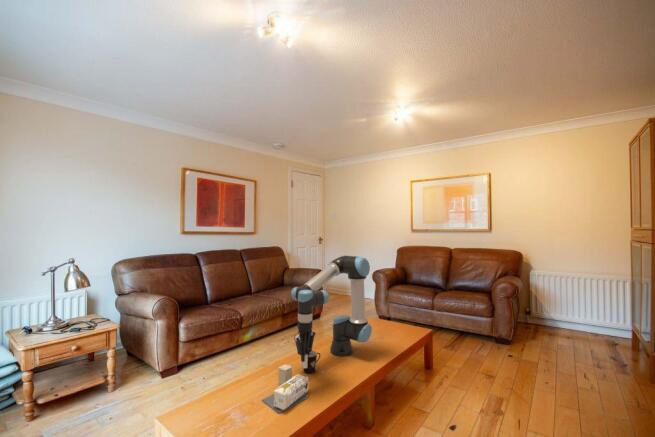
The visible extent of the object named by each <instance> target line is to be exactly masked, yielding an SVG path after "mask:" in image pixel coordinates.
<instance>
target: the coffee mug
mask: <svg viewBox="0 0 655 437" xmlns="http://www.w3.org/2000/svg"><path fill="white" fill-rule="evenodd" d="M309 353H310V355H308V362H307V368H303V373H304V374H307V375H312V374H314V373H315V372H316V365H317V363H318V362H319V361H320V358H321V353H319V352H317V351H315V350H312V351H311V352H309ZM317 355H319V356H318V357H317Z"/></svg>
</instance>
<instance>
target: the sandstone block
mask: <svg viewBox="0 0 655 437" xmlns="http://www.w3.org/2000/svg"><path fill="white" fill-rule="evenodd" d="M292 373H293V366H292V365H289V364H283V365H281V366H279V367H278V379H277V380H278V383H277V384H278V386H279V387H280V386H281V385H283V384H284V383H285V382H287V381H288V380H290V379H291V378H293V374H292Z"/></svg>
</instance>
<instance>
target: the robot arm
mask: <svg viewBox="0 0 655 437" xmlns="http://www.w3.org/2000/svg"><path fill="white" fill-rule="evenodd" d="M370 268H371V267H370V263H369V260H368V259H367V258H366V257H364V256H363V257H362V256H356V255H355V256H354V255H343V256H342V255H340V256H338V257H337V258H335V259H334V260H331V261H330V262H329V263H328V264H327V266H326V267H325V268H324V269H322V270H321V271H320V272H319V273H317V274H316V275H315V276H313V277H312V278H311V279H309V280H308V281H307V282H305V283H304V284H303V285H302V286H296V287H294V288H292V290H291V292H290V295H291V299H292V300H293V301H296V302H297V329H298V330H297V331H298V332H297V335H296V336H294V337H293V339H294V342H295V346H296V352H297V355H299V356H300V361H301V368H303V369H304V368H307V362H308V355H310V353H309V352H311V351H313V345H314V344H313V343H314V340H315V336H316V332H315V331H313V330H312V329H313V308H316V307H319V306H323V305H325V304H327V303H328V302H329V300H330V298H329V294H328V292H327V290H320V289H321V288H322V287H324V285H326V284H327V283H328V282H329V281H330V280H332V279H333V278H334V277H337V276H339V275H341V274H346V275H347V278H348V280H349V281H350V304H351V305H350V306H351V310H350V311H351V316H350V315H339V316H335V317H334V318H333V321H332V341H331V345H330V347H329V350H330V353H331V354H332V355H333V356H338V357H347V356H350V355H351V356H352V355H353V352H354V347H353V345H352V341H351V340H353V341H355V342H358V343H363V344H364V343H367V342H368V341H369V339H370V337H371V335H372V331H373V330H372V329H373V328H372V326H371V324H370V323H368V321H369V320H368V318H367V317H366V304H365V302H366V301H365V300H366V298H365V280H366V279H367V276H368V275H369V274H370V272H371V271H370V270H371V269H370Z"/></svg>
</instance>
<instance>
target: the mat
mask: <svg viewBox="0 0 655 437" xmlns="http://www.w3.org/2000/svg"><path fill="white" fill-rule="evenodd" d="M309 398H310V396H309V395H307V394H306V393H305V394H304V395H302V396H301V397H300V398H299V399H297V400H296V401H295V402H294V403H292V404H291V405H290V406H289V407H287V408H286V409H285V410H282V409H280V408H278V407H275V406H274V393H273V394H271V395H269V396H266V397H264V398H262V399H261V401H262V402H263V403H264V404H265V405H267V406H268V407H269V408H271V409H272V410H273V411H275V413H277V414H278V415H279V414H281V413H283V412H285V411H287V410H289V409H291V408H292V407H294V406H296V405H298V404H300V403H302V402H304V401H306V400H307V399H309Z"/></svg>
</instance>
